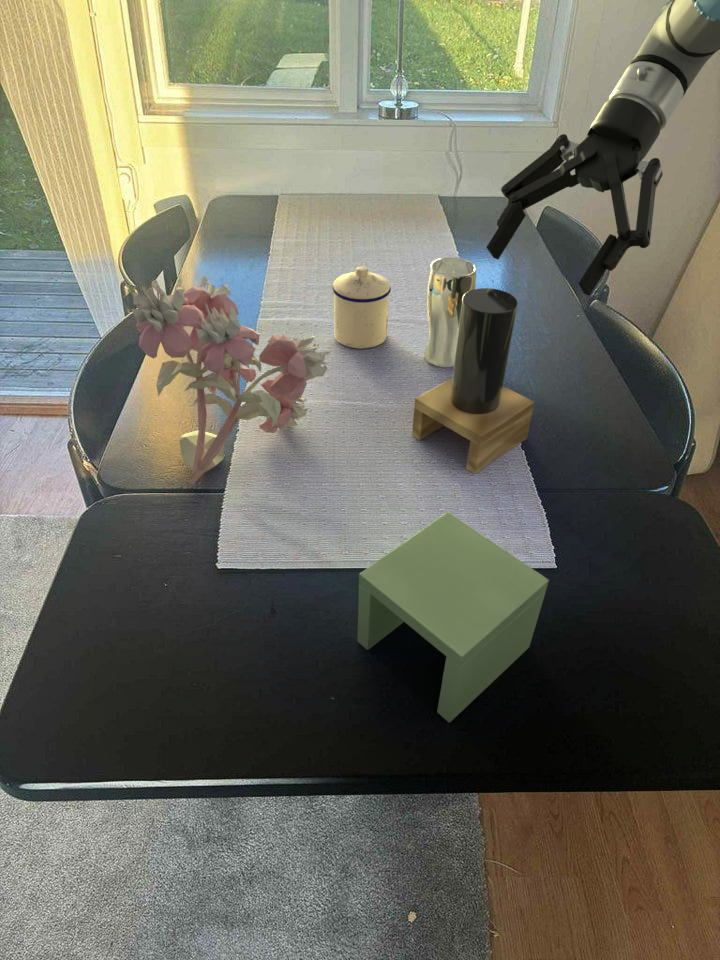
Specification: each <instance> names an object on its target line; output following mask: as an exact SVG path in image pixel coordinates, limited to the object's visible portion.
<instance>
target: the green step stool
mask: <svg viewBox="0 0 720 960" xmlns="http://www.w3.org/2000/svg"><path fill="white" fill-rule="evenodd" d="M549 582H550V580H549V578H547V577H546V576H543V575H542V574H541V573H539V572H538V571H536V570H535V569H534V568H532V567H530V566H529V565H528V564H526V563H525V562H523V561H521V560H520V559H519V558H517V557H515V556H514V555H512V554H511V553H510V552H508V551H506V550H505V549H504V548H502V547H501V546H499V545H498V544H496V543H495V542H493V541H492V540H490V539H489V538H488V537H486V536H484V535H483V534H481V533H480V532H478V530H476V529H474V528H473V527H471V526H469V525H468V524H466V523H465V522H463V521H462V520H461V519H459V518H457V517H456V516H455V515H453V513H451V512H449V511H447V512H445V513H444V514H442V515H441V516H439V517H438V518H437V519H435V520H434V521H432V522H431V523H429V524H428V525H427V526H425V527H424V528H422V529H420V530H419V531H418V532H416V533H415V534H414V535H413V536H411V537H409V538H408V539H407V540H405V541H404V542H402V543H401V544H399V545H398V546H396V547H395V548H394V549H393V550H391V551H389V552H388V553H386V555H384V556H382V557H381V558H379V559H378V560H376V561H375V562H374V563H373V564H371V565H370V566H368V567H367V568H365V569H364V570H363V571H361V572H360V573H359V575H358V604H357V605H358V610H357V643H359V645H361V646H362V647H363V648H364V649H365V650H367V651H369V650H370V649H372V648H373V647H374V646H375V645H377V644H378V643H379V642H381V640H383V639H385V637H387V636H388V635H389V634H391V633H392V632H393V631H394V630H395V629H397V628H398V627H400V626H401V625H402V624H404V623H405V624H406V625H408V627H410V628H411V629H412V630H414V631H415V633H417V634H419V635H420V636H421V637H422V638H423V639H424V640H426V641H427V642H428V643H429V644H431V645H432V646H433V647H434V648H435V649H437V650H438V651H439V652H440V653H441V654H442V655H444V656H445V663H444V669H443V675H442V681H441V686H440V693H439V697H438V703H437V704H438V705H437V709H436V712H437V714H438V715H440V716H441V717H442V718H443V719H444V720H445V721H446V722H447V723H449V724H450V723H451V722H452V721H453V720H455V718H456V717H458V715H459V714H461V713H462V712H463V711H464V710H466V708H467V707H468V706H469V705H470V704H471V703H473V701H474V700H476V699H477V697H479V696H480V695H481V694H482V693H483V692H484V691H485V690H486V689H487V688H489V686H490V685H491V684H492V683H493V682H494V681H495V680H496V679H498V678H499V676H501V675H502V674H503V673H504V672H505V671H506V670H508V668H510V667H511V665H512V664H514V663H515V661H517V660H518V659H519V658H520V657H521V656H522V655H523V654H524V653H525V652H526V651H527V650H528V649H530V646H531V643H532V639H533V637H534V632H535V629H536V626H537V623H538V619H539V615H540V613H541V609H542V605H543V602H544V598H545V596H546V592H547V589H548V585H549Z"/></svg>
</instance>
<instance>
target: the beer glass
mask: <svg viewBox="0 0 720 960" xmlns="http://www.w3.org/2000/svg"><path fill="white" fill-rule="evenodd" d="M477 270H478V267H477V266H476V264H475V263H474V262H473V261H471V260H469V259H466V258H462V257H457V256H456V257H454V256H446V257H440V258H437V259H435V260H433V261H432V262H431V264H430V271H429V277H428V283H427V290H426V312H427V322H428V340H427V344H426V348H425V351H424V359H425V360H426V362H427V363H428V364H430V365H433V366H435V367H438V368H454V362H455V354H456V346H457V338H458V330H459V322H460V314H461V306H462V298H463V296H464V294H465V293H467V292H468V291H471V290H474V289H477V287H476V286H477Z"/></svg>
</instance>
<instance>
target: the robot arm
mask: <svg viewBox="0 0 720 960" xmlns="http://www.w3.org/2000/svg"><path fill="white" fill-rule="evenodd" d="M718 51H720V0H668V1H667V2H666V4H665V5H664V6H663V7H662V8H661V11H660V13H659V14H658V17H657V19H656V21H655V22H654V24H653V25H652V28H651V29H650V31H649V33H648V34H647V36H646V37H645V39H644V41H643V43H642V44H641V46H640V47H639V49H638V51H637V52H636V54H635V56H634V57H633V59H632V60H631V62H629V65H628V66H627V68H626V69H625V70H624V72H623V74H622V76H620V79H618V82H617V83H616V85H615V87H613V90H612V91H611V94H610V95H609V96H608V100H607V101H605V103H604V104H603V105H602V107H601V109H600V110H599V111H598V113H597V114H596V116H595V118H594V120H593V121H592V123H591V125H590V127H589V129H588V132H587V134H586V136H585V138H584V139H583V140H582V141H580V142H579V143H576V142H575V141H571V140H569V138H568V135H567V133H562V134H560V135H559V136H558V137H557V138H556V139H555V140H554V142H553V144H552V145H551V146H550V147H549V148H548V149H547V150H546V151H544V152H543V153H542V154H541V155H540V156H538V157H537V158H536V159H535V160H533V161H532V162H531V163H530V164H528V165H527V166H525V168H524V169H522V170H521V171H520V172H519V173H517V174H516V175H515V176H513V177H512V178H511V179H510V180H508V181H507V182H506V183H504V184H503V185H502V186H501V188H500V192H501V193H502V195H503V197H504V199H505V200H506V201H507V204H506V206H505V208H504V209H503V210H502V212H501V214H500V216H499V217H498V219H497V221H496V226H497V227H498V228H497V229H496V231H495V232H494V234H493V235H492V238H491V239H490V241H488V242H489V243H487V245H486V249H487V251H488V253H490V255H491V256H492V258H493V259H495V260H500V258H501V256H502V254H503V253H504V251H505V250H506V248H507V246H508V245H509V243H510V242H511V240H512V238H513V237H514V235H515V233H516V232H517V231H518V229H519V227H520V226H521V224H522V223H523V221H524V219H525V218H526V216H527V215H526V213H525V212H524V211H525V210H526V209H528V208H530V207H532V206H533V205H535V204H538V203H539V202H542V201H543V200H545V199H547V198H550V197H551V196H553V195H555V194H557V193H559V192H560V191H562V190H564V189H566V188H574V187H576V186H578V185H580V186H581V187H582V188H586V189H594V190H596V191H597V192H600V193H603V194H604V193H605V192H606V191H610V195H611V196H610V197H611V202H612V207H613V214H614V218H615V225H616V234H617V236H616V235H614V234H612V233H609V234H608V236H607V238H605V241H604V242H603V244H602V245H601V247H600V249H599V250H598V251H597V254H596V255H595V256H594V258H593V260H592V261H591V262H590V264H589V266H588V267H587V269H586V271H585V272H584V274H583V275H582V277H581V278H580V280H579V282H578V285H579V287H580V290H581V292H582V293H583V295H585V296H589V297H590V295H592V292H593V291H594V289H595V288H596V287H597V285H598V283H599V282H600V280H601V278H602V277H603V275H604V274H605V272H606V271H607V270H608V271H610V272H612V271H614V270H615V269H616V268H617V266H618V264H619V263H620V262H621V260H622V259H623V257H624V255H625V254H626V252H627V251H628V249H630V248H631V247H632V248H633V247H639V248H641V249H647V248H648V247H649V246H650V243H651V237H652V227H653V217H654V208H655V200H656V199H655V198H656V190H657V187H658V185H659V184H660V181H661V180H662V178H663V175H664V174H663V168H662V164H661V161H660V159H659V158H658V157H653V158H651V159H649V161H645V160H644V159H645V158H646V157H647V155H648V153H649V152H650V150H651V149H652V148H653V145H654V144H655V143H656V141H657V139H658V137H659V136H660V134H661V131H663V129H665V128H666V126H667V124H668V122H669V121H670V120H671V117H672V115H673V114H674V113H675V110H676V109H677V107H678V106H679V104H680V102H681V100H682V99H683V98H684V97H685V94H686V92H687V91H688V89H689V88H690V86H691V85H692V83H693V82H694V80H695V79H696V77H698V75H699V73H700V72H701V70H702V69H703V67H704V66H705V64H707V62H708V61H709V60H710V59H711V58H712V57H713V56H714V55H715V54H716V53H717V52H718ZM572 156H573V157H572ZM571 157H572V158H571ZM572 171H574V173H575V174H572V173H571V172H572ZM637 174H638V177H639V181H640V187H639V195H638V206H637V214H636V222H635V223H636V224H635V229H632V230H631V224H630V218H629V212H628V207H627V202H626V201H627V200H626V194H625V188H624V187H625V186H624V183H625V182H627V181H628V180H629V179H632V178H634V177H635V176H636V175H637Z"/></svg>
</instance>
